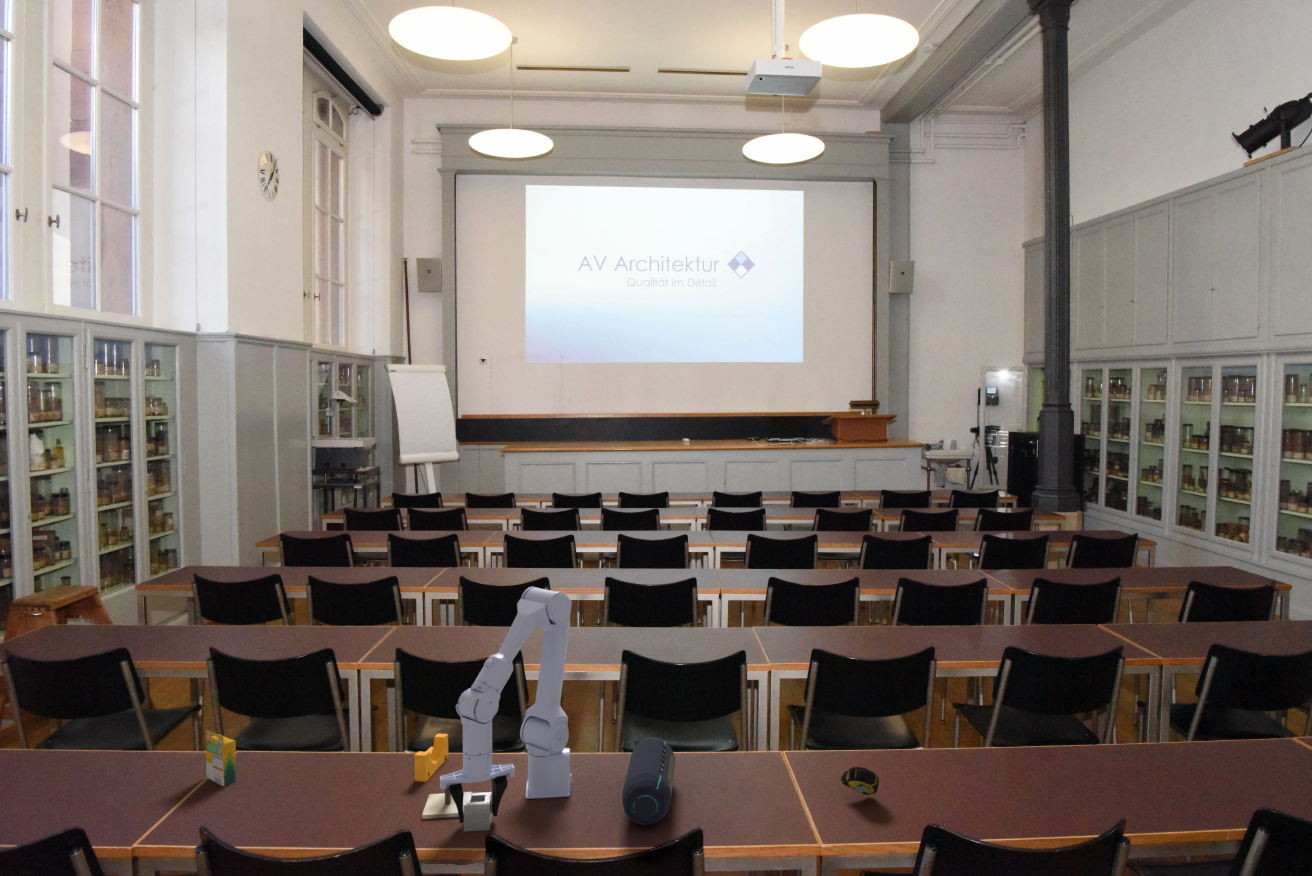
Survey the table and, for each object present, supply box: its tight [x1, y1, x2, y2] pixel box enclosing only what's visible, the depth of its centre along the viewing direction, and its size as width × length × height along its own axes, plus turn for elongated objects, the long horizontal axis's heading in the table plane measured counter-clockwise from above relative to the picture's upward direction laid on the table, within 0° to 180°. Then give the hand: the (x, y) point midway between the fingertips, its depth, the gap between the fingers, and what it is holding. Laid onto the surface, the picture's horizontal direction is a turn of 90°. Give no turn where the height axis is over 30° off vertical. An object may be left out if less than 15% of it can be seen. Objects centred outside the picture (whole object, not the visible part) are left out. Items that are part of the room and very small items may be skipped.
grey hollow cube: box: [463, 791, 493, 832], centre depth 156 cm, size 5×5×5 cm
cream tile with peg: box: [421, 787, 473, 820], centre depth 163 cm, size 9×9×5 cm
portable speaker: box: [621, 736, 676, 826], centre depth 166 cm, size 25×10×10 cm, turn 176°
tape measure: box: [840, 766, 880, 796], centre depth 166 cm, size 7×7×4 cm
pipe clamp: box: [414, 733, 449, 783], centre depth 180 cm, size 12×4×6 cm, turn 171°
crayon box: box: [205, 729, 237, 787], centre depth 174 cm, size 7×3×12 cm, turn 58°
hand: (478, 817), depth 156 cm, fingers closed on grey hollow cube, 6 cm apart
